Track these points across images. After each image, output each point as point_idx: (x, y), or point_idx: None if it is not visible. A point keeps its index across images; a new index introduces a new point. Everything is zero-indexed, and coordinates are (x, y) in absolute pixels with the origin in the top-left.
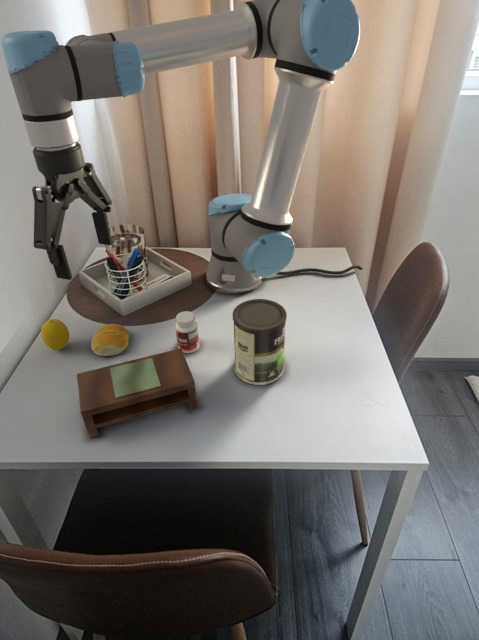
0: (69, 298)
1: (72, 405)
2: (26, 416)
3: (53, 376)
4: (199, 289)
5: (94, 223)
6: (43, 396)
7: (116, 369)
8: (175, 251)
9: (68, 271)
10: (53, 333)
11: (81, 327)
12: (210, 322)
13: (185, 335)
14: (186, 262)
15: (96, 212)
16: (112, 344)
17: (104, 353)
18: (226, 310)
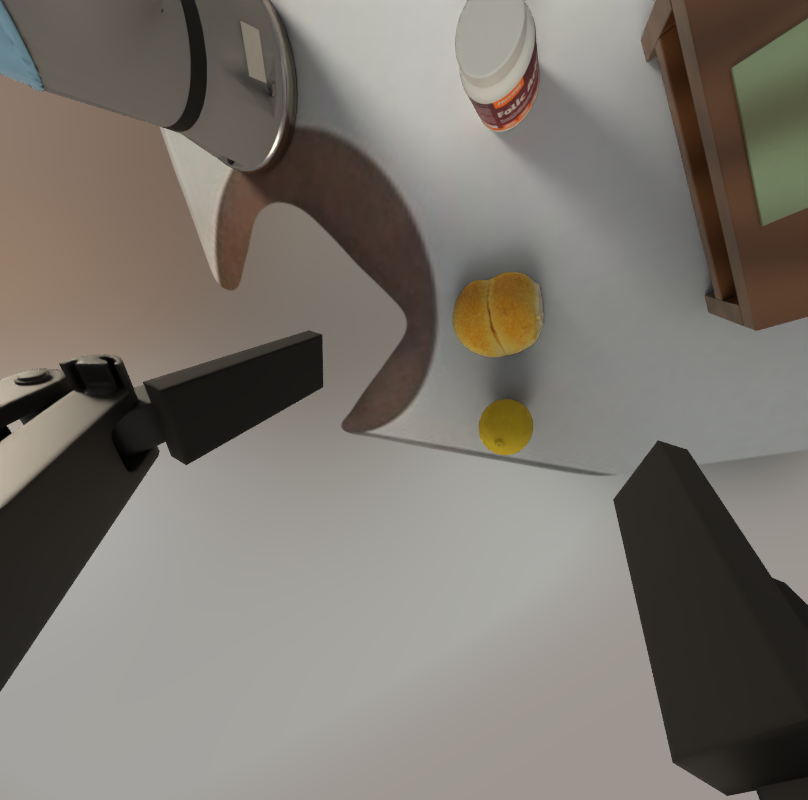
0: (377, 425)
1: (725, 336)
2: (741, 423)
3: (600, 402)
4: (300, 175)
5: (244, 429)
6: (670, 406)
7: (783, 195)
8: (223, 281)
9: (699, 480)
10: (525, 430)
11: (447, 388)
12: (403, 75)
13: (535, 42)
14: (240, 246)
15: (166, 440)
16: (531, 299)
17: (540, 317)
18: (352, 46)
